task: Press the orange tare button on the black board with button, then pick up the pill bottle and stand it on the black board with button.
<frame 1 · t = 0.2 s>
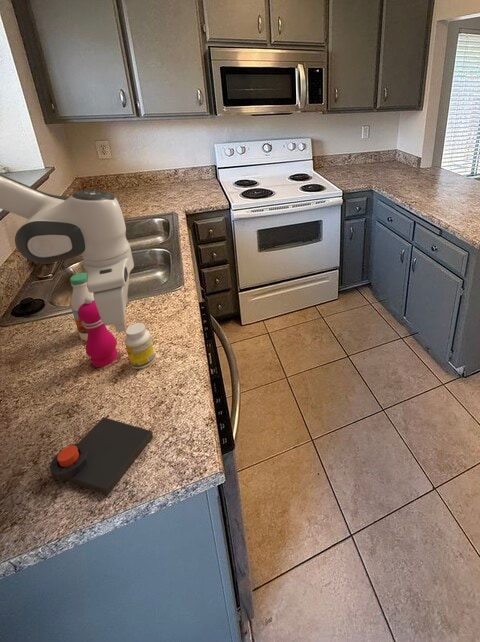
hand: (123, 317, 81), 22 cm above the counter, tool pointing down, fingers open, 8 cm apart
pepper mill: (105, 359, 99), on the counter
pill bottle: (143, 361, 98), on the counter
tare button: (68, 456, 69), point 4 cm above the counter, slide at 0.1 cm
milk bottle: (95, 333, 110), on the counter
black board with button: (106, 456, 73), on the counter
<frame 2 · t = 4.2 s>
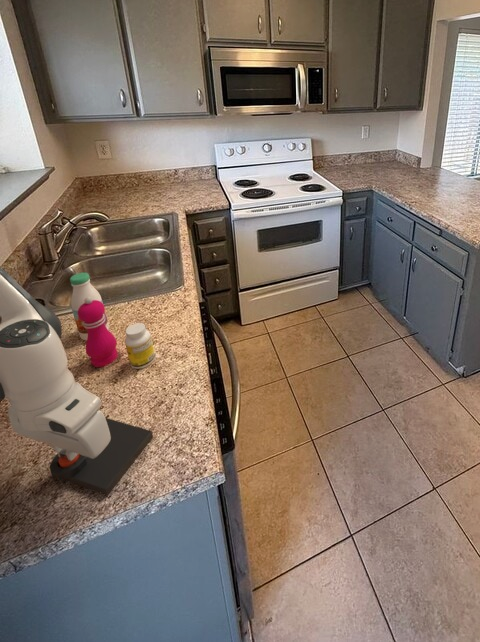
hand: (69, 455, 69), 4 cm above the counter, tool pointing down, fingers closed, pressing on tare button
tare button: (69, 459, 70), point 3 cm above the counter, slide at -0.7 cm, touching gripper
everything else where it was.
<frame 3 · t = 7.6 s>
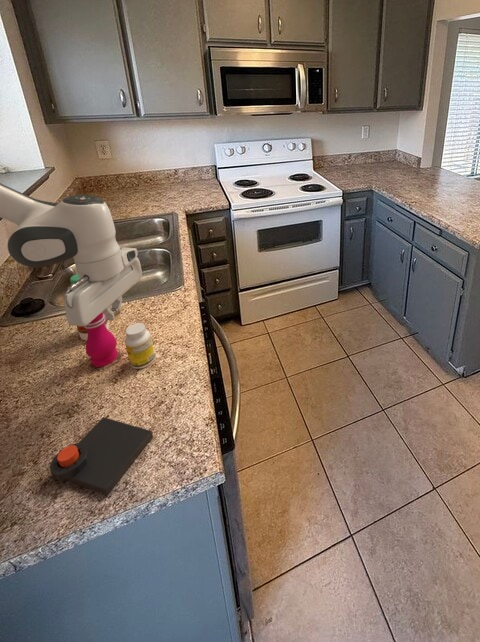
hand: (114, 316, 85), 20 cm above the counter, tool pointing down, fingers closed
tare button: (68, 456, 69), point 4 cm above the counter, slide at 0.1 cm
everything else where it was.
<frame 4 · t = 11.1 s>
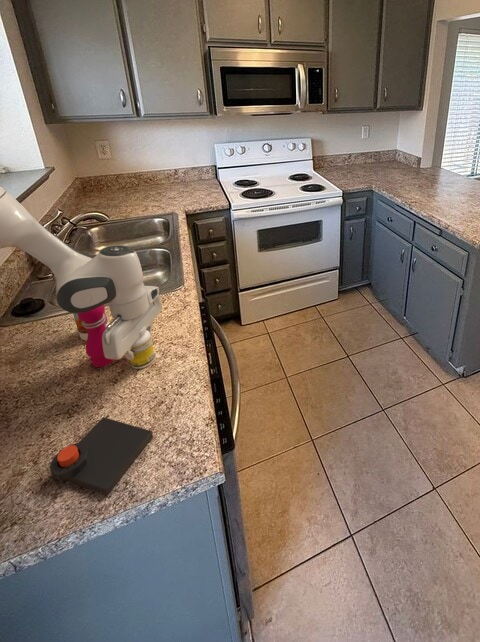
hand: (140, 347, 97), 5 cm above the counter, tool pointing down, fingers closed on pill bottle, 6 cm apart
pill bottle: (143, 361, 98), on the counter, touching gripper
everything else where it was.
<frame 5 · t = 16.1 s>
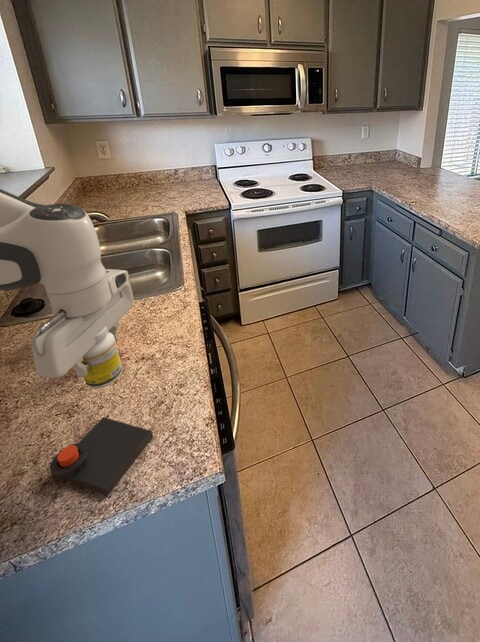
hand: (99, 357, 67), 24 cm above the counter, tool pointing down, fingers closed on pill bottle, 6 cm apart
pill bottle: (105, 378, 68), point 19 cm above the counter, touching gripper
everything else where it was.
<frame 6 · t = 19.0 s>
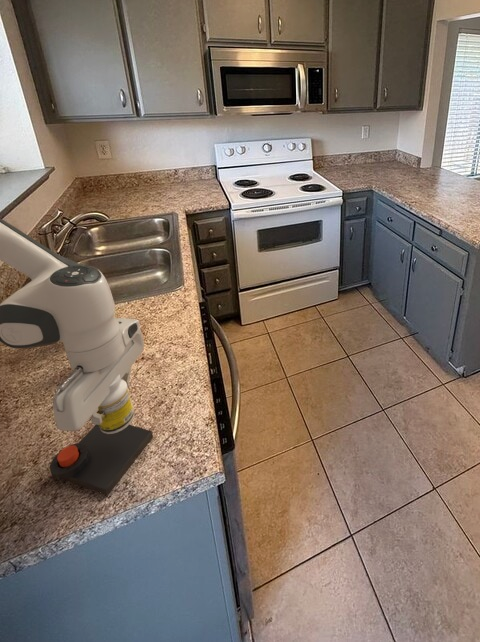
hand: (112, 404, 71), 12 cm above the counter, tool pointing down, fingers closed on pill bottle, 6 cm apart
pill bottle: (118, 422, 72), point 7 cm above the counter, touching gripper
everything else where it was.
when the fingers open (6 cm above the counter, at t = 21.3 s): pill bottle stays where it is, resting on black board with button.
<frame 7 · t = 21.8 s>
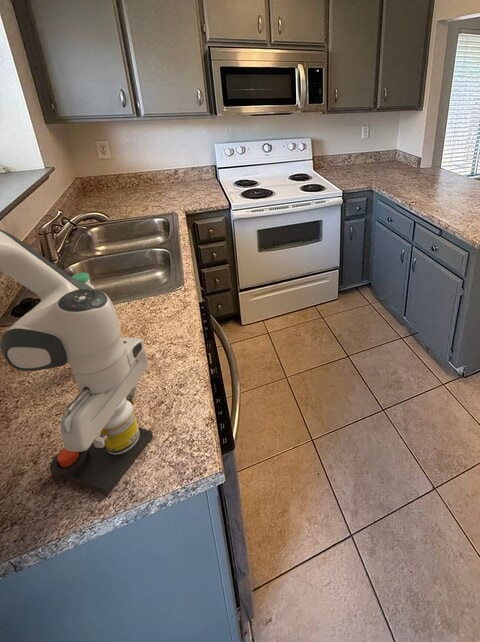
hand: (117, 421, 72), 7 cm above the counter, tool pointing down, fingers open, 8 cm apart
pill bottle: (123, 442, 74), point 2 cm above the counter, touching black board with button
everything else where it was.
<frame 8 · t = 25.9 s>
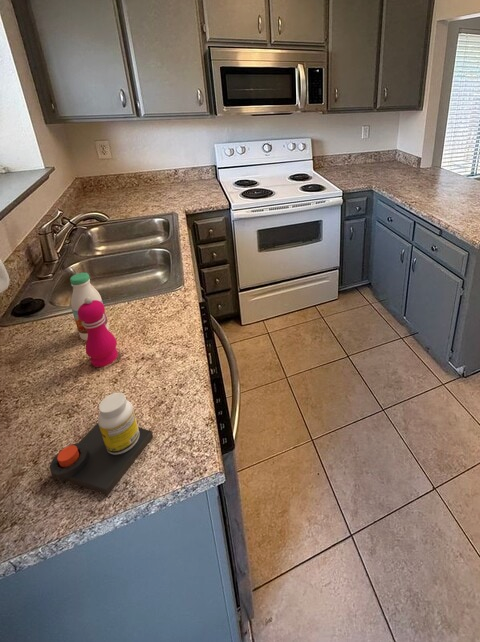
nothing on the counter moved.
at the end: tare button pushed in 0.9 cm at the most during the clip, back to where it started at the end; pill bottle touching black board with button; pill bottle inside the target area on the black board with button (1.9 cm from its centre), point 1.7 cm above the black board with button's base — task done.
